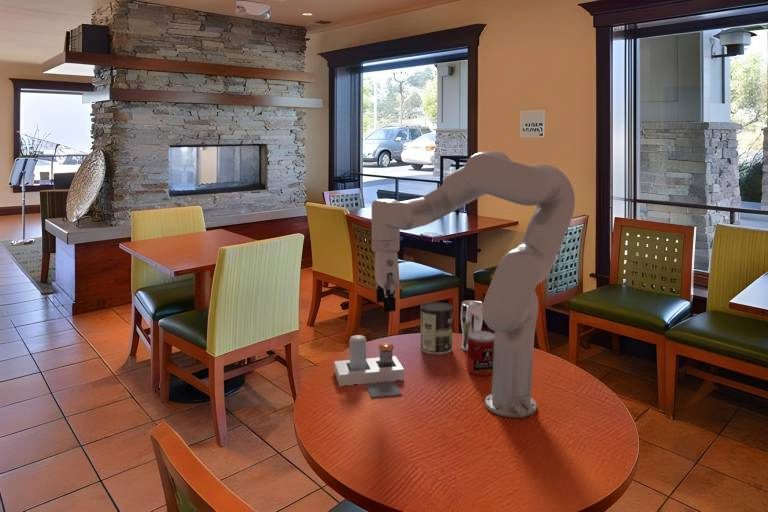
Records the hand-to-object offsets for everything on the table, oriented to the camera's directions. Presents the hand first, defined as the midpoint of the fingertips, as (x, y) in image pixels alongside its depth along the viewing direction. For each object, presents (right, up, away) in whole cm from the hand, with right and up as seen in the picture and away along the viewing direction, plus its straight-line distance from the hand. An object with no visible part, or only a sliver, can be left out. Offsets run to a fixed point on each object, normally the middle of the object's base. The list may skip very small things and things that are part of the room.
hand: (385, 306), depth 157 cm
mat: (-1, -22, -6) cm, 23 cm away
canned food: (+27, -19, +6) cm, 34 cm away
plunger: (0, -17, +3) cm, 17 cm away
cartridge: (-8, -20, +2) cm, 22 cm away
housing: (-5, -20, +3) cm, 21 cm away
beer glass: (+27, -16, +24) cm, 40 cm away
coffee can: (+16, -16, +24) cm, 33 cm away
